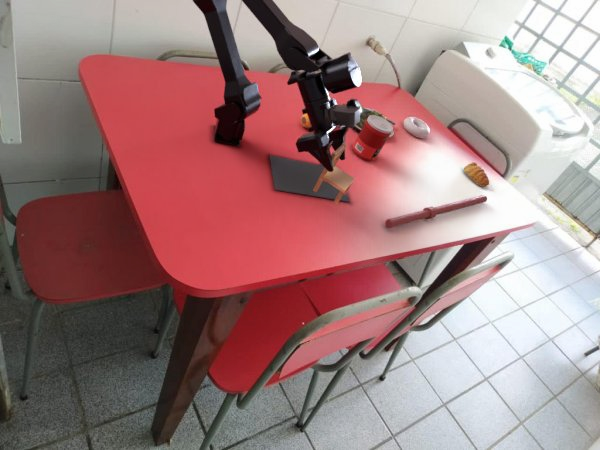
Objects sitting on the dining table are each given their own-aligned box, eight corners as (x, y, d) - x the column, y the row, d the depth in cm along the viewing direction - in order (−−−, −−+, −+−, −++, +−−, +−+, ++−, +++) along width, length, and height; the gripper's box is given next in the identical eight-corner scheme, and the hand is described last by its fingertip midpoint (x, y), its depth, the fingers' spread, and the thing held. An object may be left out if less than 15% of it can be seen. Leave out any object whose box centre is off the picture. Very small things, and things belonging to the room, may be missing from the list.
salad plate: (385, 114, 147) (391, 103, 144) (402, 144, 136) (410, 133, 133) (337, 103, 140) (343, 91, 137) (352, 134, 128) (359, 122, 125)
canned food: (374, 165, 121) (393, 135, 113) (350, 154, 120) (367, 123, 113) (376, 152, 126) (393, 122, 119) (352, 141, 126) (369, 111, 118)
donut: (404, 119, 151) (399, 129, 143) (408, 111, 148) (404, 121, 141) (427, 132, 150) (424, 143, 142) (433, 125, 148) (429, 135, 140)
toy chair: (312, 190, 97) (332, 152, 89) (324, 178, 102) (343, 142, 94) (335, 205, 96) (357, 169, 88) (346, 193, 101) (367, 157, 93)
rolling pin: (388, 232, 101) (395, 224, 99) (381, 223, 102) (387, 214, 100) (484, 205, 127) (490, 198, 125) (477, 198, 129) (483, 191, 127)
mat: (274, 190, 97) (275, 189, 96) (269, 155, 105) (269, 155, 105) (349, 202, 104) (349, 201, 103) (338, 169, 112) (338, 168, 112)
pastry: (490, 187, 138) (497, 178, 135) (478, 189, 134) (486, 180, 131) (471, 168, 142) (478, 160, 140) (459, 170, 138) (466, 161, 136)
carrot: (301, 130, 120) (310, 122, 117) (296, 117, 121) (305, 109, 118) (347, 134, 133) (357, 127, 129) (343, 122, 134) (352, 114, 130)
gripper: (331, 102, 77) (354, 177, 83) (365, 79, 90) (382, 145, 96) (283, 115, 83) (308, 184, 89) (322, 91, 97) (341, 152, 103)
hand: (337, 165), depth 94 cm, fingers closed on toy chair, 6 cm apart
